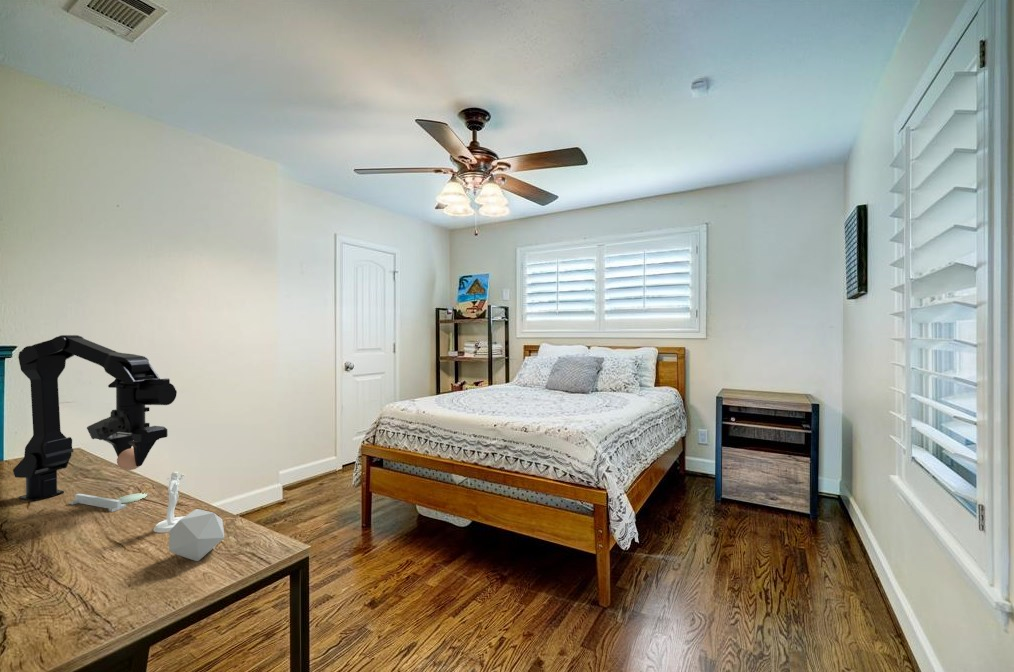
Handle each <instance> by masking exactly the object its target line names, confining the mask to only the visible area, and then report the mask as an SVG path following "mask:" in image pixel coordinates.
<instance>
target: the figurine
mask: <svg viewBox="0 0 1014 672" xmlns="http://www.w3.org/2000/svg"><path fill="white" fill-rule="evenodd" d="M170 475H171V476H170V477H169V478H167V480H170V481H169V484H168V489H167V492H168V496H167V497H168V498H167V499H168V505H167V508H166V519H164V520H162V521H160V522H158V523H157V524H156V525H155V526H154V528H153V532H155V533H160V534H161V533H169V531H170V530H171V529H172V528H173V527H174V526H175V525H176V523H177V522H178V521H179V520H180V519H182V518H183V517H185V516H186V515H185V516H182V515H181V516H176V517H175V508H176V506H177V503H178V500H179V498H180V495H179V487H180V481H181V480H183V477H186V474H185V473H181V474H180V475H179V471H174V472H172V473H171V474H170Z"/></svg>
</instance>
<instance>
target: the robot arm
mask: <svg viewBox="0 0 1014 672" xmlns="http://www.w3.org/2000/svg"><path fill="white" fill-rule="evenodd" d="M74 356H75V357H77V358H81V359H83V360H86V361H88V362H91V363H93V364H96V365H97V366H100V367H101V368H103V369H104V372H105V373H106V374H108V375H110V376H111V377H112V378H115V379H114V381H112V382H110V383H109V384H108V385H107V387H108V388H112V389H114V388H115V398H116V399H115V400H116V401H115V405H116V406H115V407H116V408H115V409H112V410H111V411H110V416H108V417H107V418H103V419H101V420H99V421H97V422H95V423H93V424H91V425H88V426H87V427H86V430H87V431H88V433H89V436H90V438H91V439H92V440H99V441H104V442H107V443H109V445H111V446H112V448H113V450H114V451H115V454H116V456H117V457H118V456H119V455H120V453H121V452H123V451H124V450H127V449H130V448H133V449H134V457H135V463H136V466H140V467H142V465H143V464H144V462H145V460H146V458H147V457H148V455H149V453H150V451H151V450H152V449H153V447H154V445H155V443H156V442H157V441H159V440H160V439H163V438H168V437H169V436H168V434H169V433H168V432H169V431H168V429H167V428H166V427H165V426H160V425H152V426H150V422H146V413H147V412H150V407H149V406H168V405H171V404H173V403H174V401H176V398H177V390H176V387H175V386H174V384H172V383H171V382H170V381H171V380H170V378H160V376H159V374H157V372H156V371H155V369H154V367H153V366H152V364H151V363H150V362H149V361H150V360H149V359H148V358H147V357H146V356H144V355H138V354H134V353H125V352H124V353H123V352H119V351H115V350H113V349H111V348H109V347H105V346H103V345H101V344H99V343H95V342H93V341H91V340H89V339H85V338H84V337H83V336H80V335H77V334H73V335H71V334H66V335H65V334H63V335H59V336H56V337H54V338H51V339H49V340H46V341H42V342H39V343H35V344H32V345H28V346H25V347H24V348H22V350H20V351H19V352H18V363H19V367H20V372H22V373H23V374H24V375H25V376H26V377H27V378H28V379H29V381H30V395H31V396H30V397H31V399H30V400H31V416H32V417H31V418H32V437H31V438H30V439H29V441H28V443H27V444H26V445H25V447H24V457H23V458H22V459H21V460H20V462H18V463H17V465H16V466H15V467H14V468H13V469H12V472H13V475H14V478H21V479H23V478H24V479H25V494H24V495H20V496H18V499H19V500H24V501H31V502H36V501H38V500H43V499H47V498H50V497H54V496H58V495H61V494H64V493H65V490H61V489H58V471H60V470H62V469H63V470H64V469H67V468H68V464H69V461H70V459H71V458H72V453H73V452H74V448H73V438H72V437H71V436H69V437H67V436H66V435H65V434H64V433H62V431H61V416H60V415H61V414H60V400H59V399H60V398H59V377H60V376H61V374H62V373H63V371H64V370H65V368H66V361H67V360H69V359H70V358H73V357H74Z"/></svg>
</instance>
